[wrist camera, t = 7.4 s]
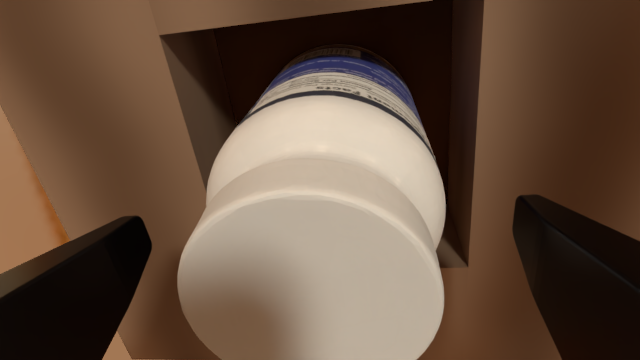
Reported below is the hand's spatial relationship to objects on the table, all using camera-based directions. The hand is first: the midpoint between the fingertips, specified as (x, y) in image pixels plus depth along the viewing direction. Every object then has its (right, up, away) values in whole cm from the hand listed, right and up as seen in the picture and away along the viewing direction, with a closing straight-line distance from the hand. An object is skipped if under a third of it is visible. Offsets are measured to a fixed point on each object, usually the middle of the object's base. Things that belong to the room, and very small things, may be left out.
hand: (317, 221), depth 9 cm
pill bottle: (+1, +4, +6) cm, 7 cm away
